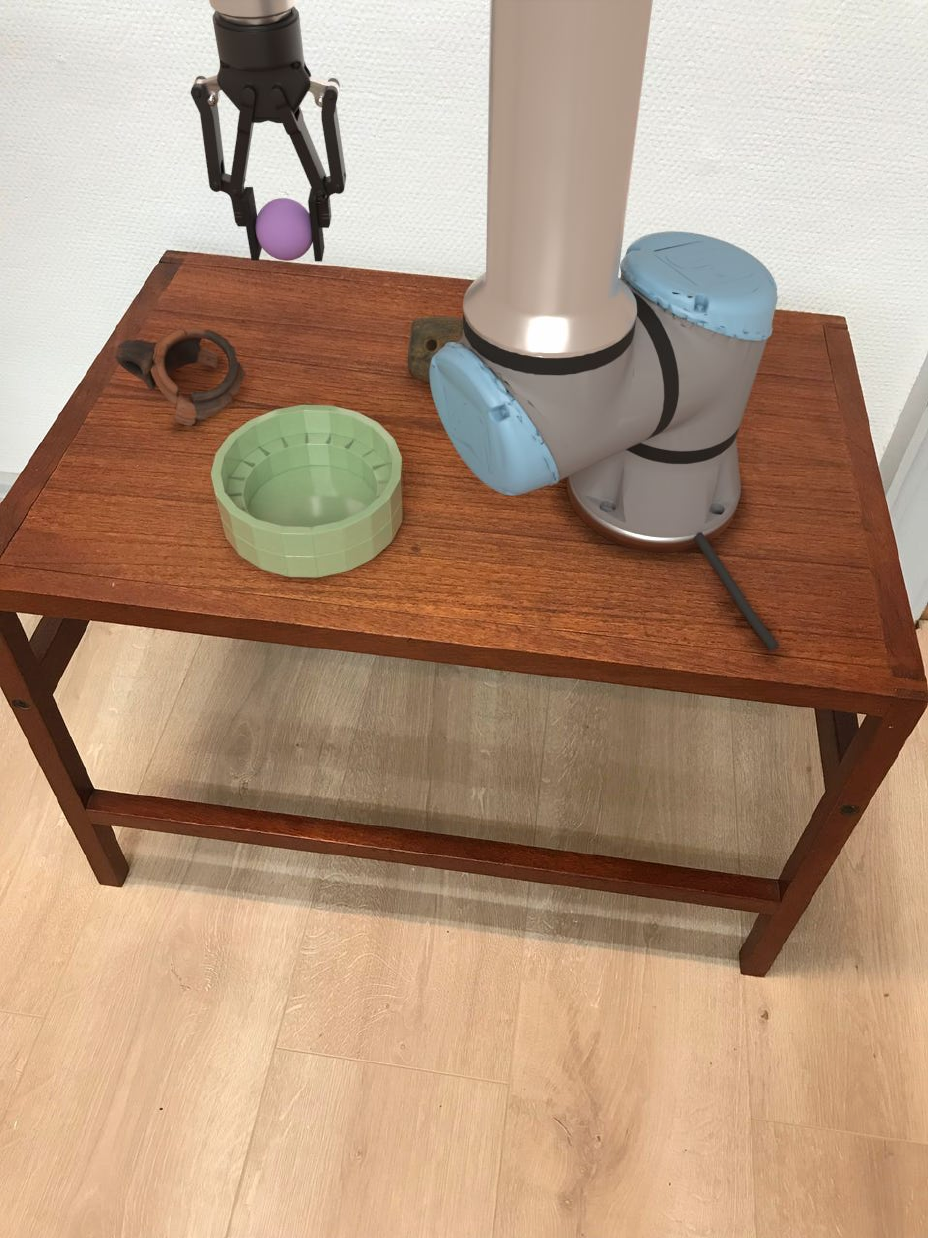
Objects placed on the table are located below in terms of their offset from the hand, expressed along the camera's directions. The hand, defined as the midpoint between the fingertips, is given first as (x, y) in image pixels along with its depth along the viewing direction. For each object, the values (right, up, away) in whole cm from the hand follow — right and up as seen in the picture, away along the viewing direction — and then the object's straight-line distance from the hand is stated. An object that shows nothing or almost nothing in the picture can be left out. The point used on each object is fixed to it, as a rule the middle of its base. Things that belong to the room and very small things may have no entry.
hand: (288, 253), depth 103 cm
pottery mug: (-8, -17, -7) cm, 20 cm away
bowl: (+5, -29, -17) cm, 35 cm away
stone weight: (+21, -15, -5) cm, 26 cm away
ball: (0, +2, -2) cm, 3 cm away
